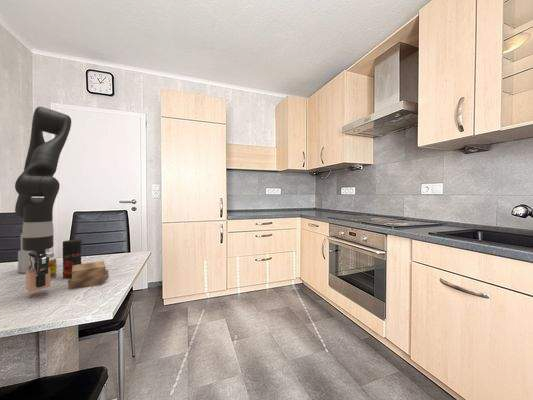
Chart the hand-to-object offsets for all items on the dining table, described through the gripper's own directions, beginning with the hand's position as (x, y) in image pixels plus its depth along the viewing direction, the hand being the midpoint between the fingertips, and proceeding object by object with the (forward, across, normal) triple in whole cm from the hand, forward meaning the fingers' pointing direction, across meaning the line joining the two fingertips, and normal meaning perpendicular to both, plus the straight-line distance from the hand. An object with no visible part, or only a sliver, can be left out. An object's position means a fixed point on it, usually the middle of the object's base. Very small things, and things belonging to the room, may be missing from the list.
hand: (38, 284), depth 78 cm
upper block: (0, 0, -14) cm, 14 cm away
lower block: (+4, 0, -14) cm, 15 cm away
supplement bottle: (+4, +20, -6) cm, 21 cm away
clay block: (+1, 0, 0) cm, 1 cm away
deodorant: (+4, +14, -13) cm, 19 cm away
